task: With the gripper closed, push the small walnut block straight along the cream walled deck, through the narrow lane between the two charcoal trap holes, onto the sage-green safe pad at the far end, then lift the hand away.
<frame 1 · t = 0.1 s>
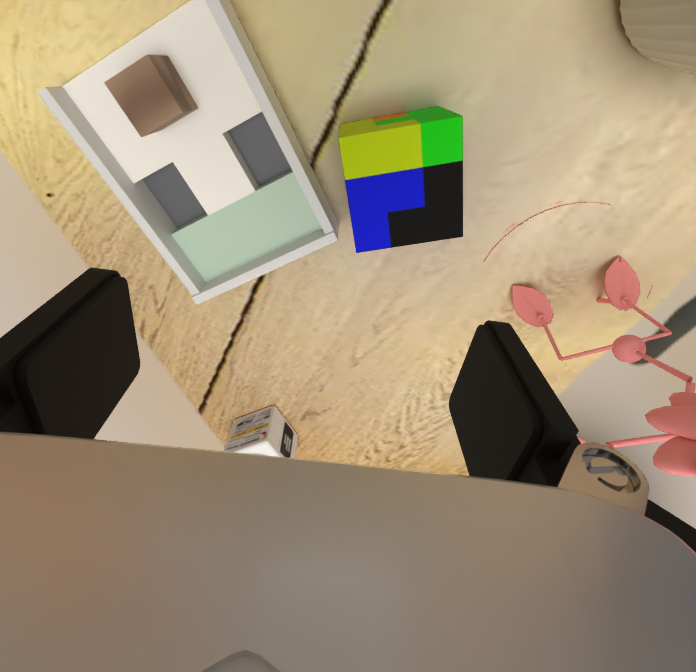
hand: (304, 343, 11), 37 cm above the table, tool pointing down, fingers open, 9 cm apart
puzzle toy: (393, 166, 44), on the table
figurine: (563, 260, 50), on the table
container: (266, 426, 65), on the table
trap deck: (215, 162, 43), on the table
walnut block: (164, 94, 38), point 2 cm above the table, touching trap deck
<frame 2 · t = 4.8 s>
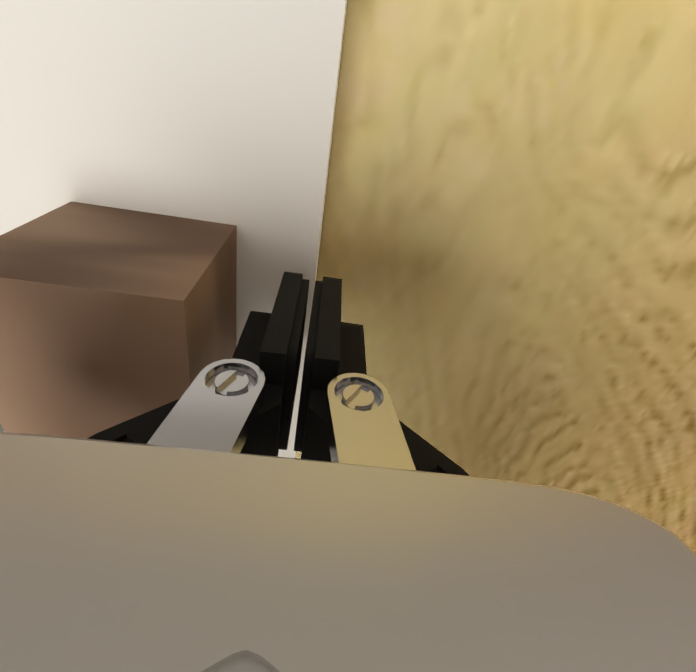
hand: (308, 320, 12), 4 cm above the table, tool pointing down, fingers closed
walnut block: (163, 285, 13), point 3 cm above the table, touching gripper
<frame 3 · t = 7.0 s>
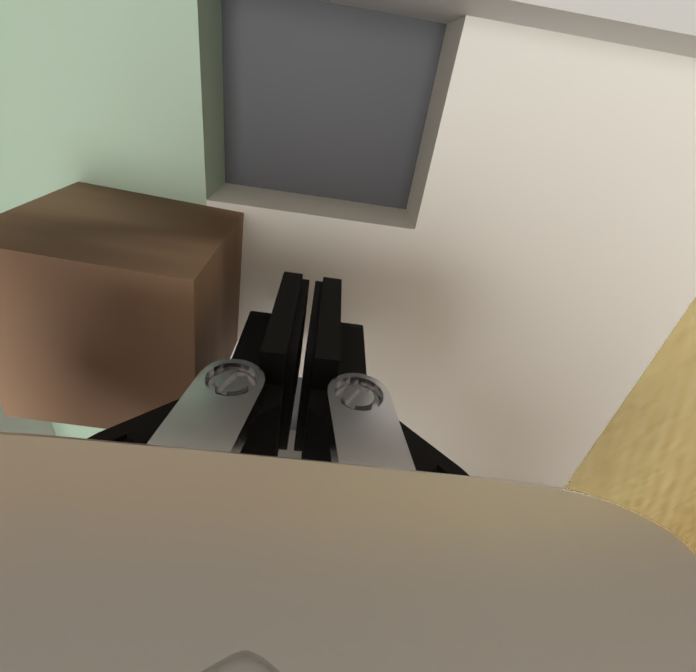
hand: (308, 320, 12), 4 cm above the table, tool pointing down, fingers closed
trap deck: (336, 277, 15), on the table
walnut block: (166, 270, 13), point 3 cm above the table, touching gripper
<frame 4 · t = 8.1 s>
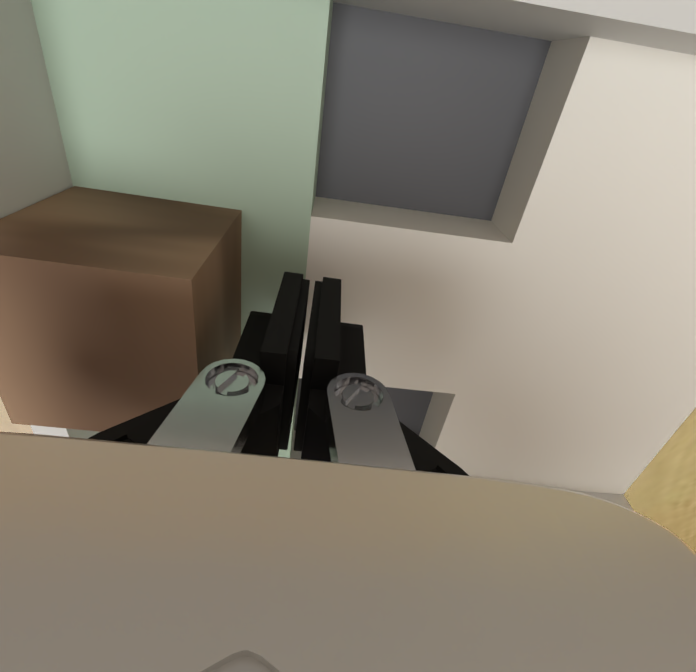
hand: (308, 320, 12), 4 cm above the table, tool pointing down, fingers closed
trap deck: (412, 287, 16), on the table
walnut block: (167, 272, 12), point 3 cm above the table, touching gripper, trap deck
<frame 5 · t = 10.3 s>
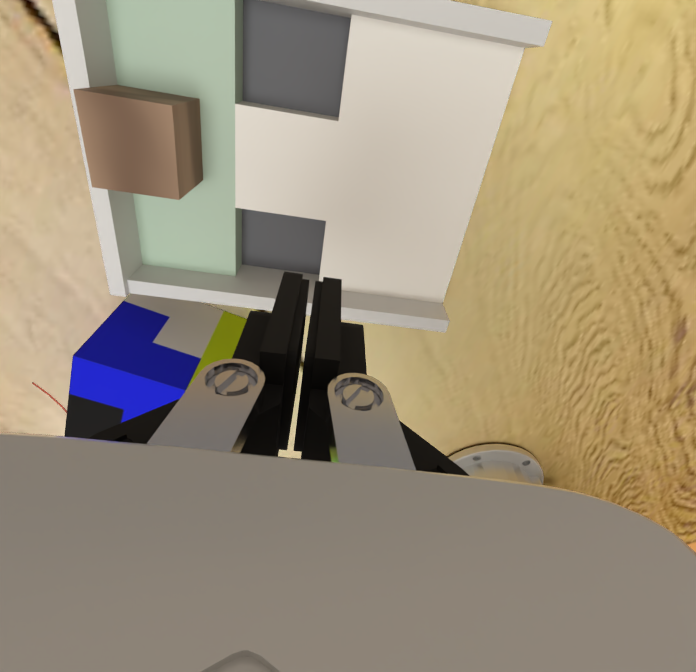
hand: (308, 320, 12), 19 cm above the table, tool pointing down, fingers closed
puzzle toy: (191, 346, 36), on the table
figurine: (15, 441, 43), on the table
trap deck: (303, 161, 27), on the table
walnut block: (162, 135, 24), point 2 cm above the table, touching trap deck
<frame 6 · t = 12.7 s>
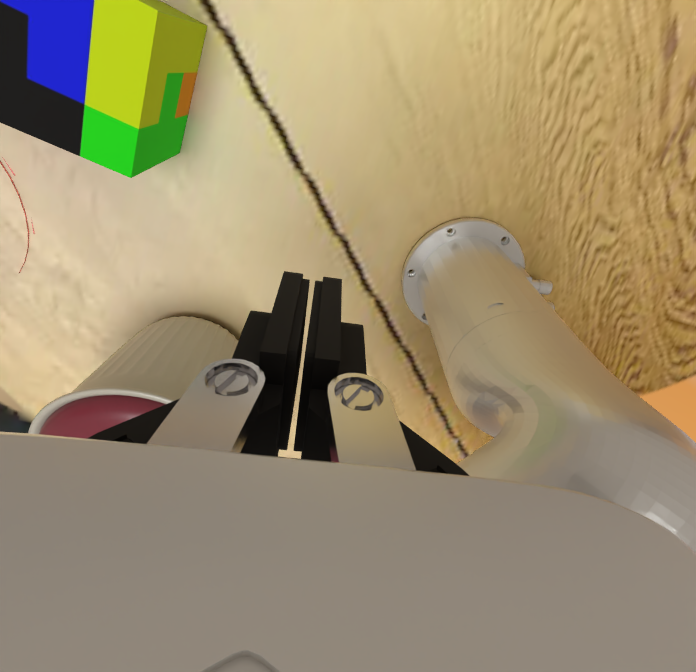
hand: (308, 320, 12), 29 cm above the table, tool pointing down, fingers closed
puzzle toy: (132, 63, 33), on the table
canister: (199, 355, 49), on the table
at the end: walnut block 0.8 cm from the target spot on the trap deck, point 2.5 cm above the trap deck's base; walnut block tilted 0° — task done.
